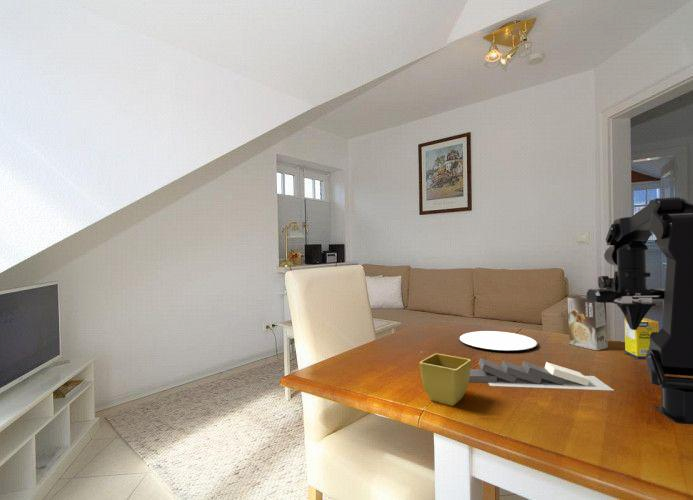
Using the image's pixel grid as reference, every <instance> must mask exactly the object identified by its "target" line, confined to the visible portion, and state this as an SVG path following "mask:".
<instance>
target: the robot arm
mask: <svg viewBox="0 0 693 500" xmlns="http://www.w3.org/2000/svg"><path fill="white" fill-rule="evenodd" d="M652 235H654V236H655V238H656V245H657V247H658V248H659V250H660V251H661V252H662V254H663V255H664V256H665V257H666V268H665V269H666V271H665V285H664V288H650V289H649V288H648V278H649V277H651V272H650V271H649V272H647V250H648V249H649V247H648V245H646V243H647V242H648V240H649V239H650V238H651V237H652ZM605 242H606V245H607V246H609V247H608V248H607V249H605V252H604V256H603V257H604V260H605V261H606V262H607V263H608V264H609V265H612V266H617V270H615V271H614V274H613V277H610V276H608V275H600V276H598V277H597V278H598V279H597V284H598V288H589V289H588V290H587V292H586V297H587V299H588V300H591V301H594V302H599V303H606V304H607V303H608V304H609V303H611V304H615V305H617V306H618V307H619V309H620V311H621V312H622V314H623V315H624V318H626V320H627V323H628V325H629V327H630V329H632V330H637V328H638V326H639V324H640V323H641V321H642V319H643V318H645V316H646V315H647V313H648V312H649V311H650V310H651V308H652V307H656V306H657V304H656V303H654V302H653V300H663V314H662V327H661V329H659V332H652V333H651V335H650V345H649V350H648V351H647V355H646V359H645V361H646V363H647V368H648V375H649V377H650V379H649V380H650V383H651V384H653V385H657V386H659V388H661V405H662V406H653V409H654V410H656V411H657V412H659V413H661V414H662V415H663V416H665V417H666V418H668V419H669V420H671V421H672V422H674V423H675V424H680V425H681V424H683V425H684V424H685V425H693V203H691V202H688V201H687V200H686V199H685V198H684V197H680V196H679V197H678V196H673V197H655V198H654V199H650V200H649V201H648V204H647V205H646V206H644V207H643V208H641V209H640V210H639V211H637V212H636V213H634V214H633V215H632V216H625V217H620V218H616V219H614V221H613V223H611V225H610V227H609V229H608V232H607V234H606V237H605ZM668 375H669V376H668ZM670 375H671V376H670ZM672 375H674V376H672ZM681 376H687V377H681Z"/></svg>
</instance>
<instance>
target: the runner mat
mask: <svg viewBox="0 0 693 500" xmlns="http://www.w3.org/2000/svg"><path fill="white" fill-rule="evenodd" d="M584 376H585V377H587V378H588V379H589V380H590V381H589V384H588V386H586V385H582V384H579V383H576V382H573V381H570V380H567V379H564V382H563V384H562V385H560V384H557V383H554V382H551V381H548V380H545V379H543V378H542V379H541V382H540V384H537V383H534V382H531V381H528V380H525V379H522V378H519V377H516V380H515V382H514V383H512V382H509V381H507V380H505V379H502V378H500V377H498V376H497V383H488V386H490V387H508V388H509V387H510V388H511V387H513V388H537V389H560V390H562V389H563V390H564V389H565V390H587V391H588V390H590V391H615V389H614V388H612V387H610V386H609V385H608V384H606V383H605V382H603V381H602V380H600V379H599V378H597V377H596V376H594V375H584Z"/></svg>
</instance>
